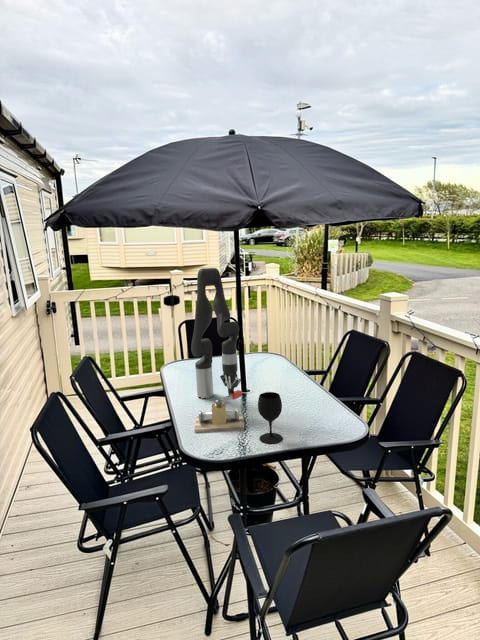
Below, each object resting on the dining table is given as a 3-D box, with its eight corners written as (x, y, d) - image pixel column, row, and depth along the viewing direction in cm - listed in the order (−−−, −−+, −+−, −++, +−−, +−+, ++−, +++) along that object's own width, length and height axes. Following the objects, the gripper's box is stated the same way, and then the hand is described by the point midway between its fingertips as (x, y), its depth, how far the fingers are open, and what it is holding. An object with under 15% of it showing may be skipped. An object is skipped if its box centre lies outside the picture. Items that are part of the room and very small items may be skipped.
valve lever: (218, 406, 201) (218, 401, 200) (213, 405, 203) (213, 400, 203) (242, 396, 213) (242, 391, 213) (237, 394, 216) (237, 389, 215)
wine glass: (255, 436, 191) (253, 393, 187) (276, 431, 194) (275, 389, 191) (265, 446, 181) (263, 401, 177) (287, 441, 185) (285, 397, 181)
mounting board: (196, 419, 212) (196, 416, 212) (243, 416, 212) (242, 414, 212) (194, 432, 197) (194, 429, 197) (244, 429, 198) (244, 426, 197)
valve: (200, 419, 208) (199, 404, 206) (239, 417, 208) (238, 402, 207) (199, 425, 201) (198, 409, 200) (239, 423, 202) (238, 407, 200)
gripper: (244, 362, 209) (245, 395, 213) (225, 357, 218) (227, 390, 222) (233, 366, 204) (235, 400, 207) (215, 361, 213) (216, 394, 216)
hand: (231, 394), depth 214 cm, fingers closed
